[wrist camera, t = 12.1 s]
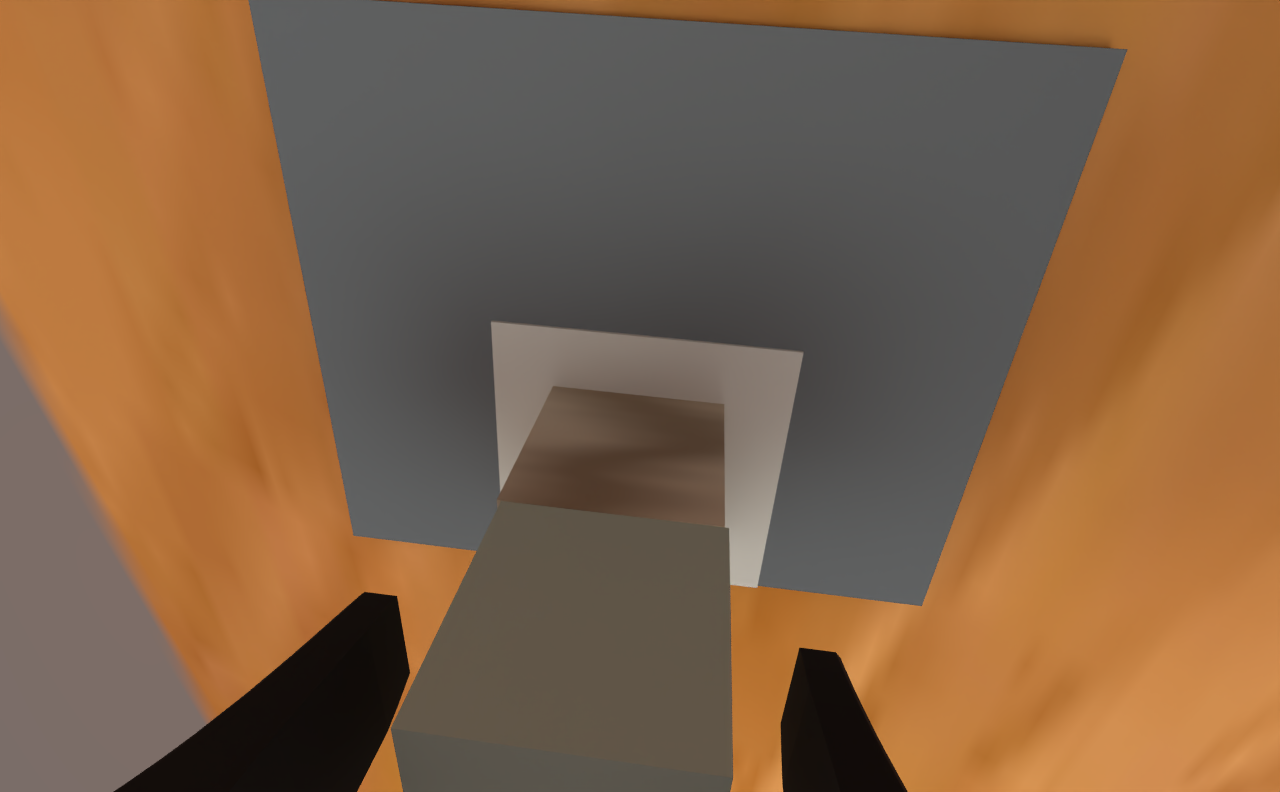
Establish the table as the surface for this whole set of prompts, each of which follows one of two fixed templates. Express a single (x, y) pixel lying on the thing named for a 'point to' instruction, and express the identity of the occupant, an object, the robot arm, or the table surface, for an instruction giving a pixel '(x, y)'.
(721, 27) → the board
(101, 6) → the table surface
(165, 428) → the table surface
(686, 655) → the sage block
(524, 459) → the walnut block
